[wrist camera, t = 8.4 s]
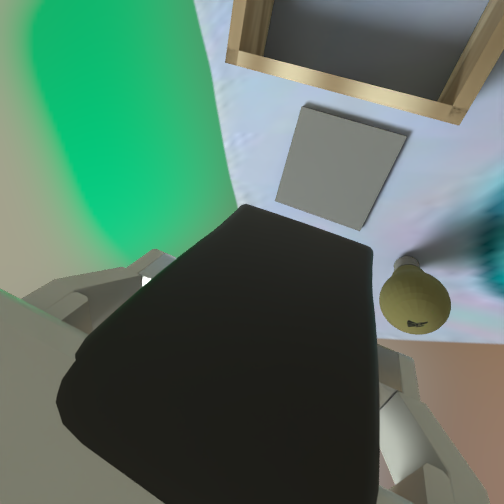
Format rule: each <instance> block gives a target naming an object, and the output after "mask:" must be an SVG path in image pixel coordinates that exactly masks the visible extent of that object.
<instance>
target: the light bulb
mask: <svg viewBox="0 0 504 504" xmlns="http://www.w3.org/2000/svg"><path fill="white" fill-rule="evenodd" d="M379 302H380V308H381V311H382V313H383V315H384V316H385V318H386V319H387V321H388V322H389V323H390V324H391V325H393V326H394V327H395V328H397V329H399V330H401V331H403V332H406V333H410V334H427V333H430V332H433V331H435V330H437V329H439V328H440V327H441V326H442V325H443V324H444V323H445V322H446V320H447V319H448V317H449V314H450V310H451V301H450V297H449V294H448V292H447V290H446V289H445V287H444V286H443V285H442V284H441V282H440V281H438V280H437V279H436V278H434V277H433V276H431V275H430V274H427V273H425V272H424V271H423V270H422V269H420V266H419V263H418V261H417V260H416V259H415V258H413V257H409V256H404V257H401V258H399V259H397V260H396V261H395V263H394V272H393V274H392V276H391V277H390V278H389V279H388V280H387V281H386V282H385V284H384V285H383V287H382V290H381V292H380V298H379Z"/></svg>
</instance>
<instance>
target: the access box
mask: <svg viewBox="0 0 504 504" xmlns="http://www.w3.org/2000/svg"><path fill="white" fill-rule="evenodd" d="M273 4H274V0H234V2H233V9H232V16H231V24H230V31H229V39H228V46H227V53H226V61H225V63H229V64H233V65H236V66H240V67H244V68H247V69H251V70H255V71H259V72H262V73H266V74H270V75H273V76H277V77H281V78H285V79H288V80H292V81H296V82H299V83H303V84H307V85H311V86H314V87H318V88H322V89H325V90H329V91H333V92H337V93H340V94H344V95H348V96H351V97H355V98H359V99H363V100H366V101H370V102H374V103H377V104H381V105H385V106H389V107H392V108H396V109H400V110H403V111H407V112H411V113H414V114H418V115H422V116H426V117H429V118H433V119H437V120H440V121H444V122H448V123H452V124H455V125H460V123H461V122H462V120H463V118H464V116H465V115H466V113H467V111H468V110H469V108H470V106H471V104H472V103H473V101H474V99H475V98H476V96H477V94H478V92H479V91H480V89H481V87H482V86H483V84H484V82H485V80H486V79H487V77H488V75H489V74H490V72H491V70H492V69H493V67H494V65H495V63H496V62H497V60H498V58H499V57H500V55H501V53H502V51H503V50H504V0H490V1H489V2H488V4H487V6H486V8H485V10H484V12H483V14H482V16H481V18H480V20H479V22H478V24H477V25H476V27H475V29H474V31H473V33H472V35H471V37H470V39H469V41H468V43H467V45H466V47H465V49H464V50H463V52H462V54H461V56H460V58H459V60H458V62H457V64H456V66H455V68H454V70H453V72H452V74H451V75H450V77H449V79H448V81H447V83H446V85H445V87H444V89H443V91H442V93H441V95H440V97H439V98H438V100H437V102H436V101H432V100H428V99H425V98H421V97H417V96H413V95H409V94H405V93H401V92H397V91H394V90H390V89H386V88H382V87H378V86H374V85H370V84H367V83H363V82H359V81H355V80H351V79H347V78H343V77H339V76H336V75H332V74H328V73H324V72H320V71H316V70H312V69H308V68H305V67H301V66H297V65H293V64H289V63H285V62H281V61H278V60H274V59H270V58H266V57H263V55H264V50H265V45H266V40H267V35H268V30H269V25H270V20H271V15H272V10H273Z"/></svg>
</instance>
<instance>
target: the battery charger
mask: <svg viewBox="0 0 504 504" xmlns="http://www.w3.org/2000/svg"><path fill="white" fill-rule="evenodd" d="M372 265H373V250H372V249H371V248H370V247H368V246H366V245H364V244H361V243H358V242H355V241H353V240H350V239H347V238H344V237H342V236H339V235H336V234H333V233H330V232H327V231H325V230H322V229H319V228H316V227H313V226H310V225H308V224H305V223H302V222H299V221H296V220H293V219H290V218H287V217H284V216H281V215H278V214H275V213H273V212H270V211H266V210H263V209H260V208H257V207H254V206H251V205H248V204H244V205H241V206H240V207H239V208H238V209H237V210H236V211H235V212H234V213H233V214H232V215H231V216H230V217H229V218H228V219H226V220H225V221H224V222H223V223H222V224H221V225H220V226H218V227H217V228H216V229H215V230H214V231H212V232H211V233H210V234H208V235H207V236H206V237H204V238H203V239H201V240H200V241H199V242H197V243H196V244H195V245H194V246H193V247H191V248H190V249H188V250H187V251H186V252H185V253H183V254H182V255H181V256H179V257H178V258H177V259H175V260H174V261H173V262H172V263H170V264H169V265H168V266H167V267H165V268H164V269H163V270H162V271H160V272H159V273H158V274H157V275H156V276H154V277H153V278H152V279H151V280H150V281H148V282H147V283H146V284H145V285H144V286H143V287H141V288H140V289H139V290H138V291H137V292H136V293H135V294H133V295H132V296H131V297H130V298H129V299H128V300H127V301H125V302H124V303H123V304H122V305H121V306H120V307H119V308H118V309H117V310H115V311H114V312H113V313H112V314H111V315H110V316H109V317H108V318H107V319H105V320H104V321H103V322H102V323H101V324H100V325H99V326H98V327H97V328H96V329H95V330H93V331H92V332H91V333H90V334H89V335H88V336H87V337H86V338H85V339H84V341H83V342H82V344H81V346H80V347H79V349H78V350H77V352H76V353H75V359H76V360H75V362H74V363H73V364H72V366H71V367H70V369H69V370H68V371H67V373H66V374H65V376H64V377H63V379H62V381H61V384H60V387H59V390H58V393H57V397H56V405H57V408H58V411H59V414H60V417H61V420H62V424H63V425H64V426H65V427H66V428H67V429H68V430H69V431H70V432H71V433H72V434H73V435H74V436H75V437H76V438H77V439H78V440H79V441H80V442H81V443H82V444H83V445H84V446H86V447H87V448H88V449H90V450H91V451H93V452H94V453H95V454H97V455H98V456H99V457H101V458H102V459H104V460H105V461H106V462H108V463H109V464H110V465H112V466H113V467H115V468H116V469H117V470H119V471H120V472H122V473H123V474H124V475H126V476H127V477H128V478H130V479H131V480H133V481H134V482H135V483H137V484H138V485H139V486H141V487H142V488H144V489H145V490H146V491H148V492H149V493H151V494H152V495H153V496H155V497H156V498H157V499H159V500H160V501H162V502H163V503H164V504H376V503H377V497H378V492H379V455H380V454H379V453H380V451H379V450H380V389H379V364H378V349H377V335H376V323H375V311H374V303H373V292H372Z"/></svg>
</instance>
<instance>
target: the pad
mask: <svg viewBox="0 0 504 504" xmlns="http://www.w3.org/2000/svg"><path fill="white" fill-rule="evenodd" d="M406 138H407V136H405V135H401V134H398V133H394V132H391V131H387V130H384V129H380V128H377V127H373V126H370V125H366V124H363V123H359V122H356V121H352V120H349V119H345V118H342V117H338V116H335V115H331V114H328V113H324V112H321V111H317V110H314V109H310V108H307V107H301V111H300V114H299V118H298V121H297V125H296V128H295V132H294V135H293V139H292V142H291V146H290V149H289V153H288V157H287V160H286V164H285V167H284V171H283V174H282V178H281V181H280V185H279V188H278V192H277V195H276V199H275V201H276V202H279V203H282V204H285V205H288V206H291V207H293V208H296V209H299V210H302V211H305V212H307V213H310V214H313V215H316V216H319V217H321V218H324V219H327V220H330V221H333V222H335V223H338V224H341V225H344V226H347V227H350V228H352V229H355V230H358V231H360V230H361V228H362V226H363V224H364V222H365V220H366V218H367V216H368V214H369V212H370V210H371V208H372V206H373V204H374V202H375V200H376V198H377V196H378V194H379V192H380V190H381V188H382V186H383V184H384V182H385V180H386V178H387V176H388V174H389V172H390V170H391V168H392V166H393V164H394V162H395V160H396V158H397V156H398V154H399V152H400V150H401V148H402V146H403V144H404V142H405V140H406Z"/></svg>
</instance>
